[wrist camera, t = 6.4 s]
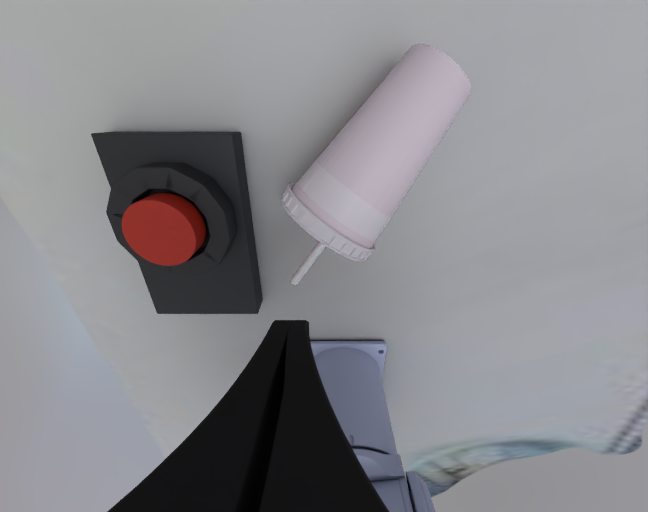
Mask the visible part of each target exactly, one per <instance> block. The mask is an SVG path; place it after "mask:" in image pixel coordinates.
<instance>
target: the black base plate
mask: <svg viewBox="0 0 648 512" xmlns="http://www.w3.org/2000/svg"><path fill="white" fill-rule="evenodd" d="M91 135H92V138H93V141H94V144H95V146H96V149H97V152H98V154H99V157H100V160H101V162H102V165H103V168H104V171H105V173H106V176H107V179H108V181H109V184H110V187H111V192H110V197H109V202H108V206H107V211H106V212H107V215H108V218H109V221H110V223H111V226H112V228H113V231H114V233H115V236H116V238H117V241H119V243H120V244H121V245H122V246H123V247H124V248H125V249H126V250H127V251H128V252H129V253H130V254H131V255H132V256H133V257H134V258H135V259H136V260H138V263H139V265H140V268H141V271H142V273H143V276H144V279H145V282H146V284H147V287H148V290H149V292H150V295H151V298H152V301H153V303H154V306H155V309H156V311H157V313H158V314H258V312H259V309H260V306H261V303H262V292H261V284H260V277H259V269H258V261H257V254H256V246H255V239H254V231H253V223H252V216H251V208H250V200H249V193H248V185H247V178H246V170H245V162H244V155H243V147H242V139H241V133H240V132H104V133H92V134H91ZM156 193H171V194H175V195H178V196H180V197H182V198H184V199H186V200H187V201H189V202H190V203H191V204H193V205H194V206H195V207H196V208H197V210H198V211H199V212H200V214H201V215H202V217H203V219H204V222H205V226H206V237H205V240H204V242H203V244H202V246H201V247H200V248H199V249H198V250H197V251H196V252H195V253H194V254H193V255H192V256H191V257H190V258H189V259H188V260H187V261H186V262H184V263H182V264H179V265H174V266H164V265H158V264H155V263H152V262H150V261H148V260H146V259H144V258H143V257H141V256H140V255H138V254H137V253H136V252H135V251H134V250H133V249H132V248H131V247H130V245H129V244H128V242H127V241H126V239H125V237H124V234H123V231H122V218H123V215H124V213H125V211H126V209H127V208H128V207H129V206H130V205H132V204H133V203H135V202H137V201H139V200H142V199H144V198H146V197H148V196H150V195H153V194H156Z"/></svg>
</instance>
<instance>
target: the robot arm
mask: <svg viewBox="0 0 648 512" xmlns="http://www.w3.org/2000/svg"><path fill="white" fill-rule="evenodd" d="M379 350H381V351H379ZM386 350H387V346H386V343H385V342H383V341H310V337H309V322H307V321H306V320H275V321H274V322H273V323H272V325H271V327H270V329H269V331H268V332H267V334H266V336H265V338H264V339H263V341H262V343H261V344H260V346H259V348H258V349H257V351H256V352H255V354H254V355H253V357H252V358H251V360H250V361H249V363H248V364H247V366H246V367H245V369H244V370H243V372H242V373H241V374H240V376H239V377H238V378H237V380H236V381H235V382H234V384H233V385H232V386H231V388H230V389H229V390H228V392H227V393H226V394H225V395H224V397H223V398H222V399H221V400H220V402H219V403H218V404H217V405H216V406H215V407H214V409H213V410H212V411H211V412H210V413H209V414H208V416H207V417H206V418H205V419H204V420H203V421H202V422H201V423H200V424H199V425H198V426H197V428H196V429H195V430H194V431H193V432H192V433H191V434H190V435H189V436H188V437H187V438H186V439H185V440H184V441H183V442H182V443H181V444H180V445H179V446H178V447H177V448H176V449H175V450H174V451H173V452H172V453H171V454H170V455H169V456H168V457H167V458H166V459H165V460H164V461H163V462H162V463H161V464H160V465H159V466H158V467H157V468H156V469H155V470H154V471H153V472H152V473H151V474H149V475H148V476H147V477H146V478H145V479H144V480H143V481H142V482H141V483H140V484H139V485H138V486H137V487H135V488H134V489H133V490H132V491H131V492H130V493H128V494H127V495H126V496H125V497H124V498H123V499H121V500H120V501H119V502H118V503H117V504H116V505H115V506H113V507H112V508H111V509H110V510H109V511H108V512H435V509H434V506H433V503H432V500H431V496H430V493H429V491H428V488H427V486H426V484H425V482H424V481H423V480H422V479H420V478H419V477H417V475H416V473H415V472H414V471H409V472H406V478H407V484H408V488H407V484H406V480H405V475H404V471H403V467H402V462H401V458H400V455H399V454H397V449H396V445H395V440H394V436H393V431H392V427H391V422H390V417H389V413H388V408H387V404H386V399H385V394H384V390H383V385H382V376H383V369H384V363H385V356H386ZM408 490H409V492H408Z"/></svg>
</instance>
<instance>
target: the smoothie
mask: <svg viewBox="0 0 648 512" xmlns="http://www.w3.org/2000/svg"><path fill="white" fill-rule="evenodd" d="M470 94H471V84H470V82H469V80H468V78H467V76H466V74H465V73H464V72H463V70H462V69H461V68H460V67H459V66H458V65H457V63H455V62H454V61H453V60H452V59H451V58H450V57H449V56H447V55H446V54H444V53H443V52H441V51H440V50H438V49H436V48H434V47H431V46H428V45H424V44H416V45H413V46H412V47H411V48H410V49H409V50H408V52H407V53H406V54H405V55H404V56H403V57H402V59H401V60H400V61H399V62H398V63H397V65H396V66H395V67H394V68H393V69H392V71H391V72H390V73H389V74H388V75H387V76H386V78H385V79H384V80H383V81H382V82H381V84H380V85H379V86H378V87H377V88H376V89H375V91H374V92H373V93H372V94H371V95H370V97H369V98H368V99H367V100H366V101H365V103H364V104H363V105H362V106H361V107H360V108H359V110H358V111H357V112H356V113H355V114H354V116H353V117H352V118H351V119H350V120H349V121H348V123H347V124H346V125H345V126H344V127H343V129H342V130H341V131H340V132H339V133H338V134H337V136H336V137H335V138H334V139H333V140H332V142H331V143H330V144H329V145H328V146H327V148H326V149H325V150H324V151H323V152H322V153H321V155H320V156H319V157H318V158H317V159H316V160H315V161H314V163H313V164H312V165H311V166H310V167H309V169H308V170H307V171H306V172H305V174H304V175H303V176H302V177H301V179H300V180H299V181H298V182H297V183H296V184H295V183H289V184H288V186H287V189H286V191H285V192H284V194H283V195H282V197H281V202H282V205H283V207H284V209H285V210H286V212H287V213H288V214H289V215H290V217H291V218H292V219H293V220H294V221H295V222H296V223H297V224H298V225H299V226H300V227H301V228H302V229H304V230H305V231H306V232H307V233H308V234H310V235H311V236H312V237H313V238H315V239H316V240H317V241H319V242H318V243H317V245H316V246H315V247H314V249H313V250H312V251H311V253H310V254H309V255H308V257H307V258H306V259H305V261H304V262H303V263H302V265H301V266H300V267H299V269H298V270H297V271H296V273H295V274H294V275H293V277H292V278H291V279H290V282H291V284H293V285H297V284H298V283H299V281H300V280H301V279H302V277H303V276H304V275H305V273H306V272H307V271H308V269H309V268H310V267H311V266H312V264H313V263H314V262H315V260H316V259H317V258H318V256H319V255H320V254H321V252H322V251H323V250H324V248H325V247H327V248H329V249H331V250H332V251H334V252H336V253H337V254H339V255H341V256H343V257H345V258H348V259H350V260H353V261H357V262H364V261H366V260H367V259H368V258H369V256H370V255H371V254H372V253H373V252H374V251H376V245H375V242H376V240H377V238H378V237H379V235H380V234H381V232H382V231H383V229H384V228H385V226H386V225H387V223H388V222H389V220H390V219H391V217H392V215H393V214H394V212H395V211H396V209H397V207H398V206H399V204H400V203H401V201H402V200H403V198H404V197H405V195H406V194H407V192H408V190H409V189H410V187H411V186H412V184H413V183H414V181H415V180H416V178H417V177H418V175H419V173H420V172H421V170H422V169H423V167H424V166H425V164H426V163H427V161H428V159H429V158H430V156H431V155H432V153H433V152H434V150H435V149H436V147H437V146H438V144H439V142H440V141H441V139H442V138H443V136H444V135H445V133H446V132H447V130H448V129H449V127H450V125H451V124H452V122H453V121H454V119H455V118H456V116H457V115H458V113H459V111H460V110H461V108H462V107H463V105H464V104H465V102H466V101H467V99H468V98H469V96H470Z"/></svg>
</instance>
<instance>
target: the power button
mask: <svg viewBox="0 0 648 512" xmlns="http://www.w3.org/2000/svg"><path fill="white" fill-rule="evenodd" d="M122 231H123V234H124V237H125V239H126V241H127V242H128V244H129V245H130V247H131V248H132V249H133V250H134V251H135V252H136V253H137V254H138V255H140V256H141V257H143V258H144V259H146V260H148V261H150V262H152V263H155V264H158V265H164V266H174V265H179V264H182V263H184V262H186V261H187V260H188V259H189V258H190V257H191V256H192V255H193V254H194V253H195V252H196V251H197V250H198V249H199V248H200V247H201V246H202V244H203V242H204V240H205V237H206V226H205V222H204V219H203V217H202V215H201V214H200V212H199V211H198V210H197V208H196V207H195V206H194V205H193V204H191V203H190V202H189V201H187V200H186V199H184V198H182V197H180V196H178V195H175V194H171V193H156V194H153V195H150V196H148V197H146V198H144V199H142V200H139V201H137V202H135V203H133V204H132V205H130V206H129V207H128V208H127V209H126V211H125V213H124V215H123V218H122Z"/></svg>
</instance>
